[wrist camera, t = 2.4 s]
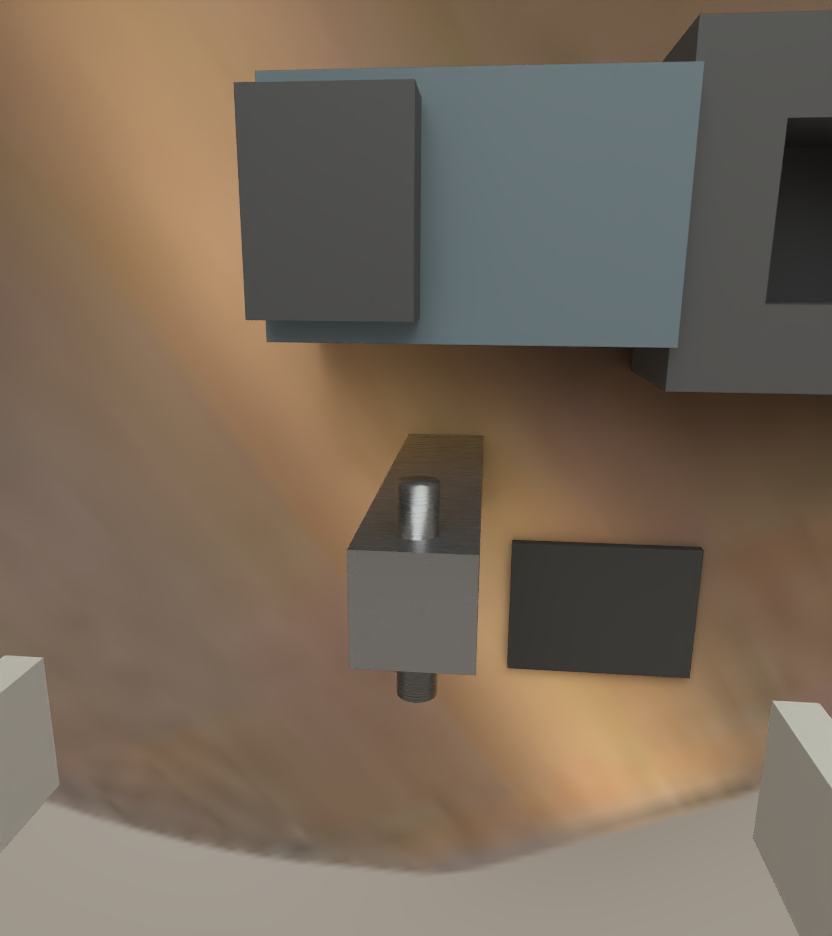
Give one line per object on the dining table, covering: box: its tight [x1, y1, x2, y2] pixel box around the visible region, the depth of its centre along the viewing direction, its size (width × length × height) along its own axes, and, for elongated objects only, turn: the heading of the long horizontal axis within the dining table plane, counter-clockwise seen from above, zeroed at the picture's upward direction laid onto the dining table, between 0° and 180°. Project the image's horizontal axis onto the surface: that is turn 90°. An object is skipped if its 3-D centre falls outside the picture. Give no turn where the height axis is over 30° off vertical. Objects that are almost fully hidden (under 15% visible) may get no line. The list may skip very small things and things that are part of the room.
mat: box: [507, 540, 704, 678], centre depth 32 cm, size 8×6×1 cm
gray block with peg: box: [347, 434, 483, 703], centre depth 25 cm, size 3×6×14 cm, turn 179°
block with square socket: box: [234, 11, 832, 395], centre depth 24 cm, size 27×11×9 cm, turn 90°
